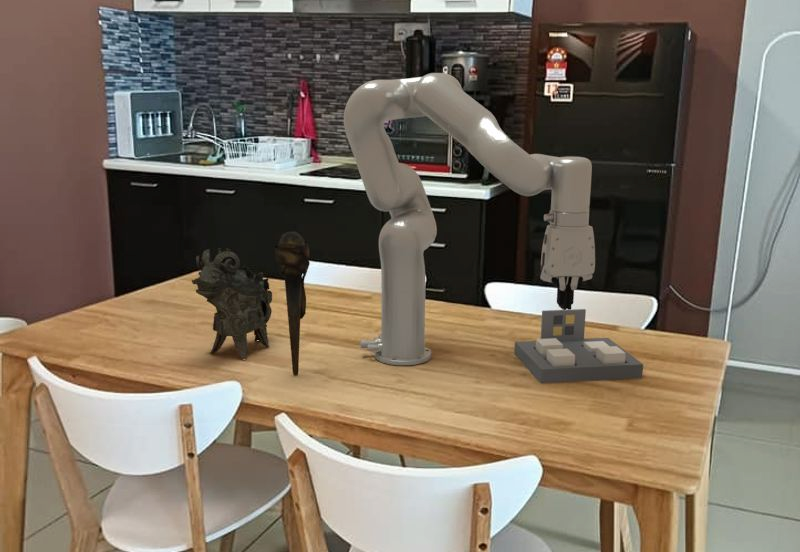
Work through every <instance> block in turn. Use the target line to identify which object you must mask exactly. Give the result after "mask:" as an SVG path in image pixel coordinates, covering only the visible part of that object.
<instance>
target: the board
mask: <svg viewBox="0 0 800 552" xmlns="http://www.w3.org/2000/svg"><path fill="white" fill-rule="evenodd" d="M593 341H604V342H605V343H606V344H608V345H609V346H617V347H618V348H620V349H621V350H622V351H624V352H625V353H626V355H625V363H616V364H603V363H601V362H600V361H599V360H598V359H597V358H596V353H589V352H588V351H587V350H586V349H585V348H583V345H584V342H593ZM559 342H561V343H562V344H563V349H568V350H570V351H571V352H572V353H573V354H574V355H575V366H556V367H553V366H552V365H551V364H550V363H549V362H548V361H547V360H546V357H547V355H540V354H539V353H538V352H537V351H536V340H524V341H514V348H513V349H514V353H513V354H514V356H515V357H516V358H517V360H519V362H520V363H521V364H522V365H523V366H524V367H525V368H526V369H527V370H528V371H529V372H530V373H531V375H533V376H534V377H535V379H536V380H537V381H538V382H539V383H540V384H554V383H571V382H572V383H573V382H574V383H575V382H590V381H591V382H592V381H607V380H608V381H612V380H627V379H628V380H630V379H643V375H644V374H643V373H644V364H643V363H642V362H641V361H639V360H638V359H637V358H636V357H634V355H632V354H631V353H629V352H628V351H627V350H625V349H624V348H622V347H621V346H619V344H617V343H615V341H613V340H612V339H610V338H609V337H594V338H593V337H592V338H591V337H590V338H589V337H588V338H584V340H562V341H559Z"/></svg>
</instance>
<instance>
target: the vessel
mask: <svg viewBox="0 0 800 552" xmlns="http://www.w3.org/2000/svg"><path fill="white" fill-rule="evenodd" d="M216 251H217V254H215V258H214V260H212V256H211V250H210V248H208V249H205V250H204V251H203V252H202V257H200V255H196V257H195V260H196V261H195V262H196V266H197V268H198V270H200V271H199V272H198V273H197V274H198V275H199V277H197V278H194V279H191V283H192V285H196V287H197V289H195V293H197V294H198V295H199V296H202V297H204V298H205V299H206V302H208V303H209V304H211V305H212V306H213V307H214V308H215V310H216V312H214V314H213V315H214V316H213V323H212V330H213V331H215V332H216V334H215V335H216V336H215V340H214V342H213V345H212V347H211V349H210V352H209V354H210V355H213V354H216V353H217V352H218V351H219V350H220V349H221V348H222V346H223V345H224V343H225V341H226V339H227V337H231V338H232V341H233V343H234V347H235V349H236V352H237V354H238V355H239V356H238V357H240V358H241V360H242V359H246V360H247V355H248V354H247V353H248V348H247V347H248V346H247V345H248V344H247V343H248V341H247V336H248V335H247V334H249V333H251V332H253V333H254V334H253V335H254V340H253V341H254V342H255V341H257V340H259V341H257V342H260V343H261V344H262V345H263V346H264V347H266V348H267V347H269V348H270V346H269V339H268V338H269V337H268V335H269V334H268V331H267V327H268V325H267V324H268V323H269V321H270V319H271V316H272V312H273V311H272V307H271V303H272V301H273V292H272V291H271V290H270V283H269V280H270V278H269V277H268V278H264V273H263V271H262V272H261V271H260V272H258V273H257V274H255V272H253V271H252V270H251V269H249V268H248V266H245V265H244V266H243V269H244V270H241V269H239V268H240V266H241V261H240V260H241V259H240V258H239V257H238V256H239V255H237V254H236V253H234V252H233V251H231V250H230V249H229V248H226V249H225V251H222V248H220V247H219V248H217V249H216ZM231 262H233V263H234V266H233V265H232V264H231Z"/></svg>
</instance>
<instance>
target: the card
mask: <svg viewBox="0 0 800 552" xmlns="http://www.w3.org/2000/svg"><path fill="white" fill-rule="evenodd" d="M586 313H587V310H586V309H585V308H577V309H572V308H571V309H569V310H568V309H566V310H563V309H550V310H549V309H548V310H546V309H545V310H542V311H541V324H540V325H541V326H540V339H551V338H556V339H557V340H558V341H562V340H584V339H585V327H586V326H585V325H586Z"/></svg>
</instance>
